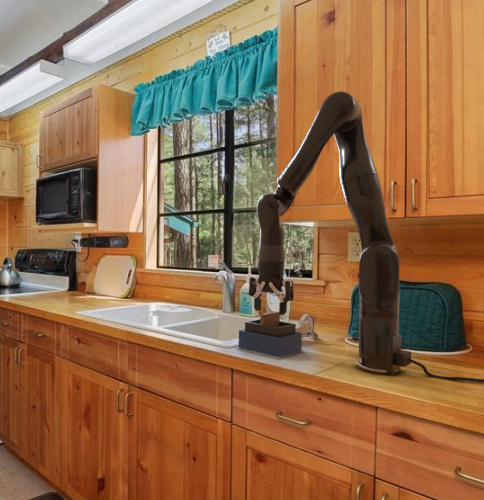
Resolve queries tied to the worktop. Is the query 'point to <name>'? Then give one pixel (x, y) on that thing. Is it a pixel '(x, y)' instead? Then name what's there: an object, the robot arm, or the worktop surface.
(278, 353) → the box
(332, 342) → the worktop surface
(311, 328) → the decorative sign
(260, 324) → the upper tote
